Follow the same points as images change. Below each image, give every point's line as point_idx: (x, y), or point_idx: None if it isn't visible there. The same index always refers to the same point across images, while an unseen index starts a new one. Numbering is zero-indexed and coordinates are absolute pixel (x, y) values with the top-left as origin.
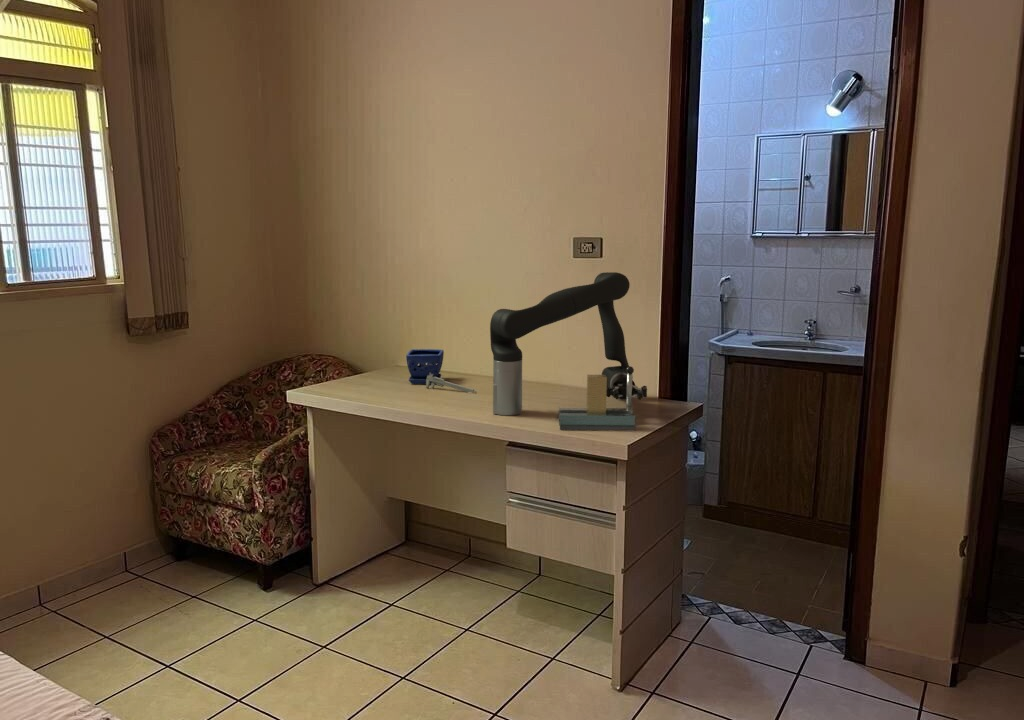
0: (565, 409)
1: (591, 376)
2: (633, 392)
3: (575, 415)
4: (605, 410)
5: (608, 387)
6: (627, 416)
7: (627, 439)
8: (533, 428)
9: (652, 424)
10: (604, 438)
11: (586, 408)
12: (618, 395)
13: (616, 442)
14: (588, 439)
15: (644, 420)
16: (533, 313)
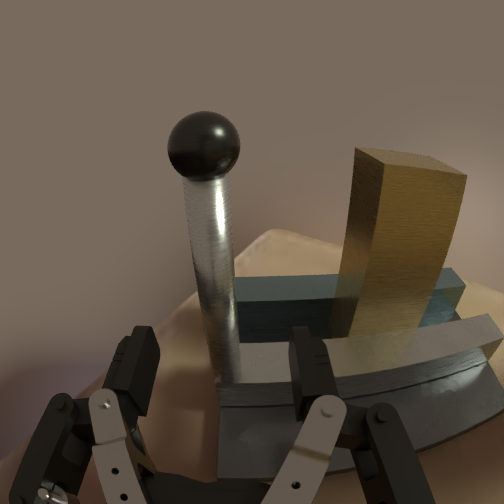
0: (479, 323)
1: (424, 158)
2: (146, 467)
3: None
4: (337, 287)
5: (392, 474)
6: (252, 278)
7: (261, 253)
8: (485, 297)
9: None
10: (315, 255)
11: (428, 354)
12: (290, 335)
13: (286, 239)
14: None
15: (151, 434)
16: None
